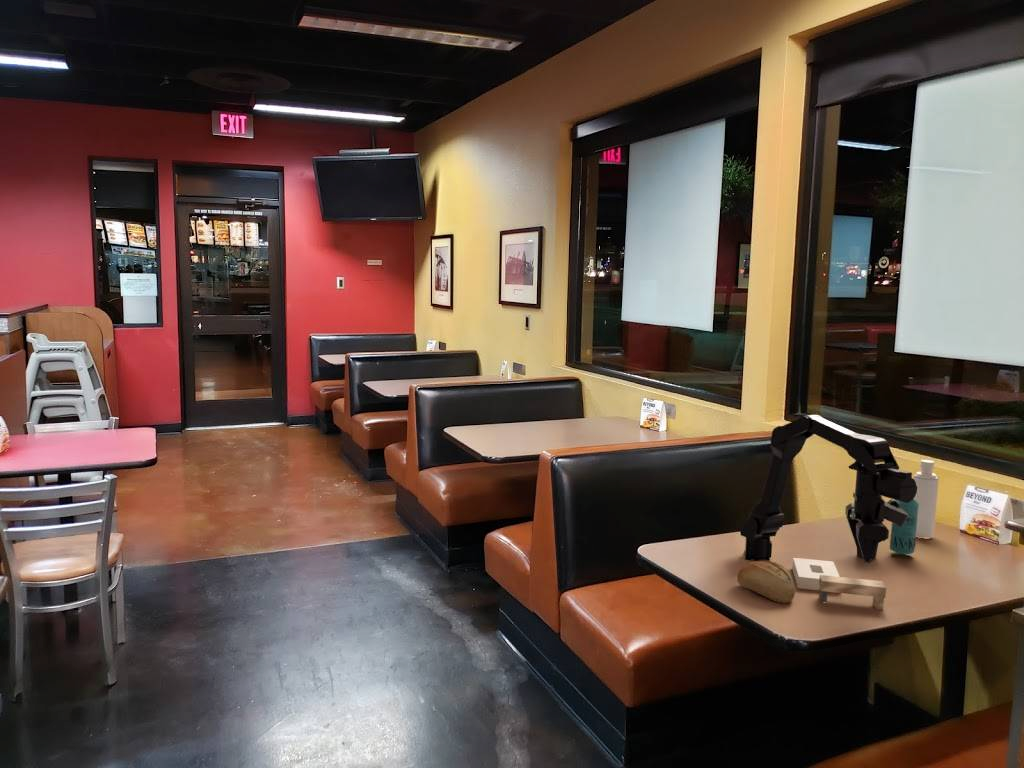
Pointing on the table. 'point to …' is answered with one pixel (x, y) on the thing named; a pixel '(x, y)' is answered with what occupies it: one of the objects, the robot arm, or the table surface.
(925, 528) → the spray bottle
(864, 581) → the tan elongated block
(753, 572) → the bread roll
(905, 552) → the beverage bottle
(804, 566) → the white slotted block
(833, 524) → the table surface
